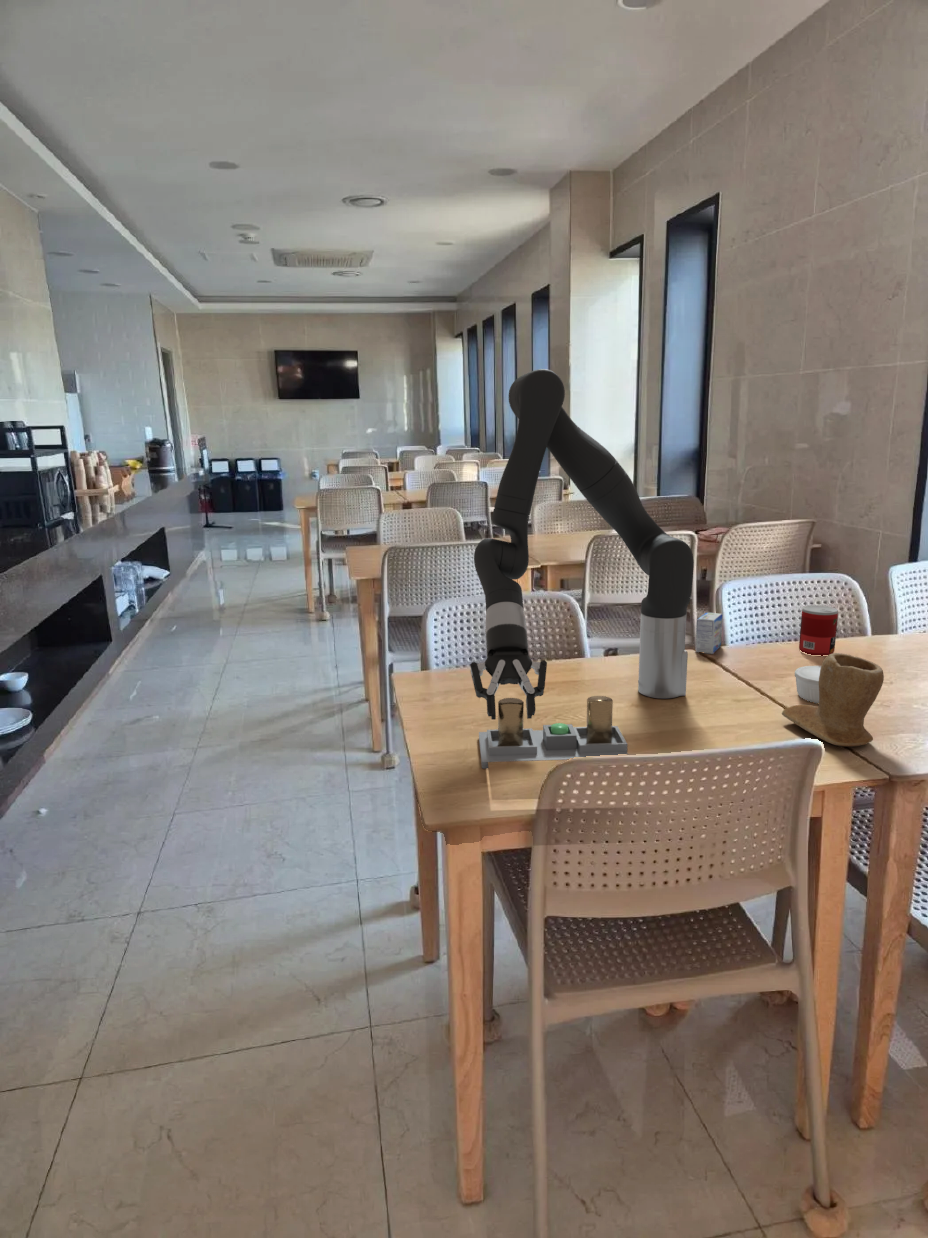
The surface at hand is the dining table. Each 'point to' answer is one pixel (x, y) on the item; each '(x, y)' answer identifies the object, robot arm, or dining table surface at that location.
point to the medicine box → (708, 633)
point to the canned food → (818, 630)
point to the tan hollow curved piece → (841, 701)
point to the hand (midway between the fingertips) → (511, 717)
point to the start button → (559, 728)
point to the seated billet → (599, 720)
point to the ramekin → (808, 682)
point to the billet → (510, 722)
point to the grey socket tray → (548, 745)
